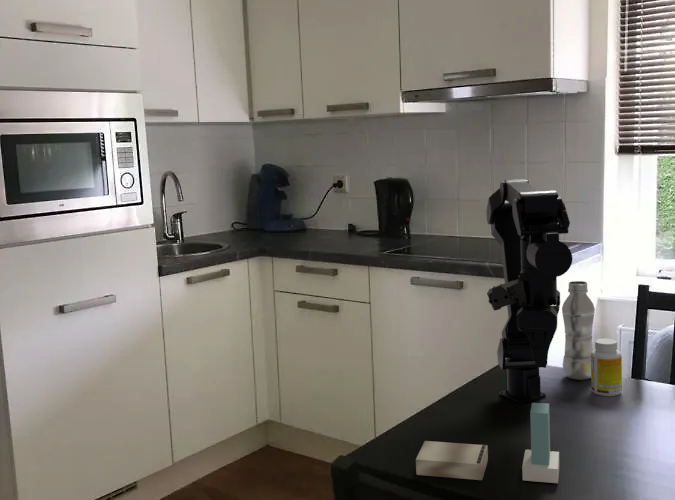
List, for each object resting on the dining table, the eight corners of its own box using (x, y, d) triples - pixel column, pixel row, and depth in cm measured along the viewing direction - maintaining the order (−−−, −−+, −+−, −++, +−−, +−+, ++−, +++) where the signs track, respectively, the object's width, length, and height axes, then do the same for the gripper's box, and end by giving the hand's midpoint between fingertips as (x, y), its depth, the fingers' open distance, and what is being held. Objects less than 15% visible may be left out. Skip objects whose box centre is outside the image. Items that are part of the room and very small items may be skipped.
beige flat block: (416, 474, 115) (415, 458, 114) (425, 455, 121) (424, 439, 121) (482, 480, 111) (481, 463, 111) (487, 460, 118) (487, 444, 118)
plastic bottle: (595, 373, 155) (594, 279, 152) (595, 384, 149) (594, 286, 146) (563, 372, 157) (561, 279, 154) (562, 382, 151) (560, 286, 148)
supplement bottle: (628, 394, 143) (628, 342, 141) (604, 399, 141) (604, 346, 139) (608, 385, 148) (607, 335, 146) (585, 390, 146) (584, 339, 144)
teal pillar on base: (522, 480, 110) (520, 414, 108) (525, 462, 116) (524, 399, 114) (557, 483, 108) (556, 416, 107) (559, 465, 114) (558, 401, 112)
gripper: (495, 256, 136) (498, 339, 138) (482, 276, 118) (485, 371, 121) (559, 256, 132) (561, 341, 135) (555, 277, 115) (557, 374, 117)
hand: (540, 356), depth 127 cm, fingers open, 9 cm apart
